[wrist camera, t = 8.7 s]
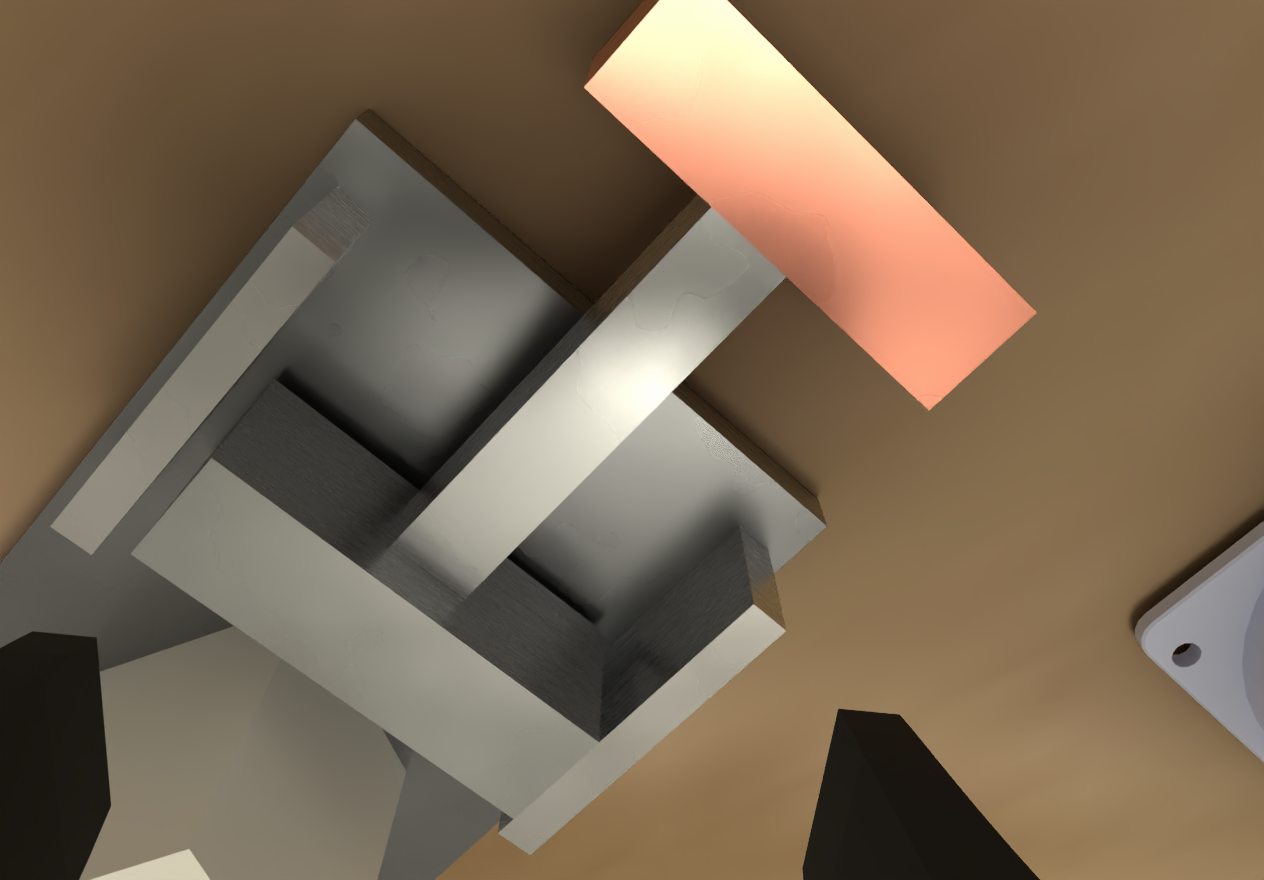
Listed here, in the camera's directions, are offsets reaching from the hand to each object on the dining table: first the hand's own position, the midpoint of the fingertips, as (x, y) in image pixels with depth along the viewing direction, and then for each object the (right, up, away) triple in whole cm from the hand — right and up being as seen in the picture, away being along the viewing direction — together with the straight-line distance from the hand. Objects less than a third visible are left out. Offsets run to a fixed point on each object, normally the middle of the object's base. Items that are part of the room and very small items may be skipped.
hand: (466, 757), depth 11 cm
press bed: (-4, 0, +10) cm, 11 cm away
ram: (+1, +4, +7) cm, 8 cm away
